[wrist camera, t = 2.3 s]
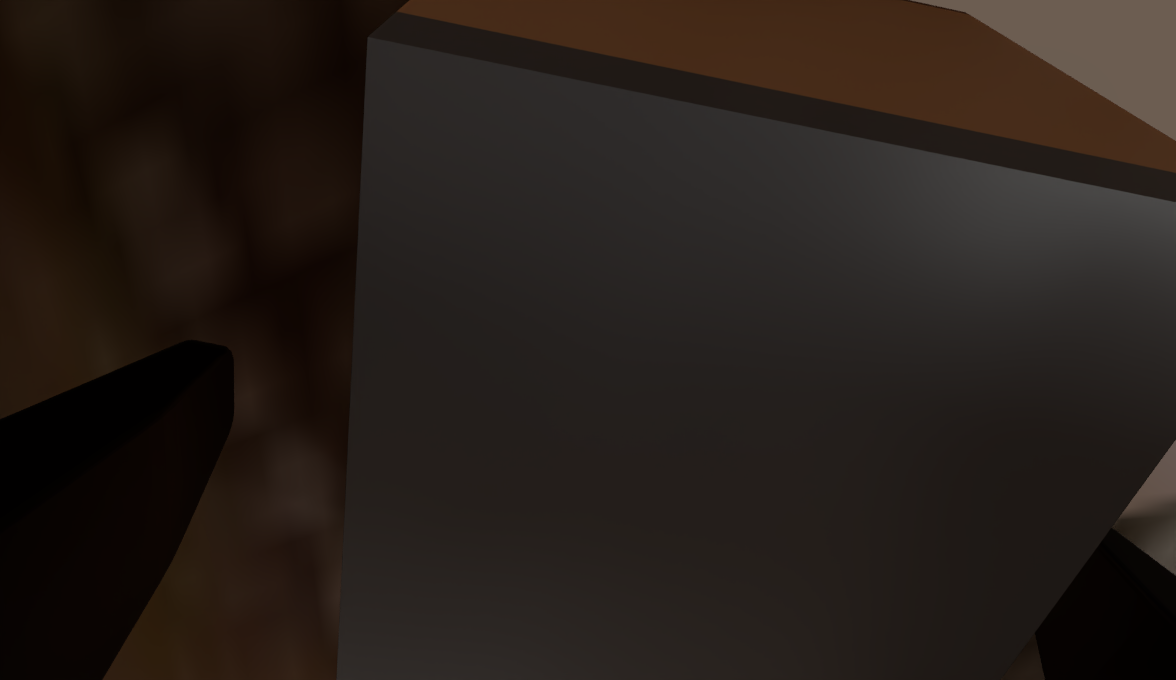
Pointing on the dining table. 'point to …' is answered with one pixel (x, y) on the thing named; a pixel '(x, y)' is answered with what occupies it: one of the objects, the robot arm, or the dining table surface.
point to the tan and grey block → (740, 341)
